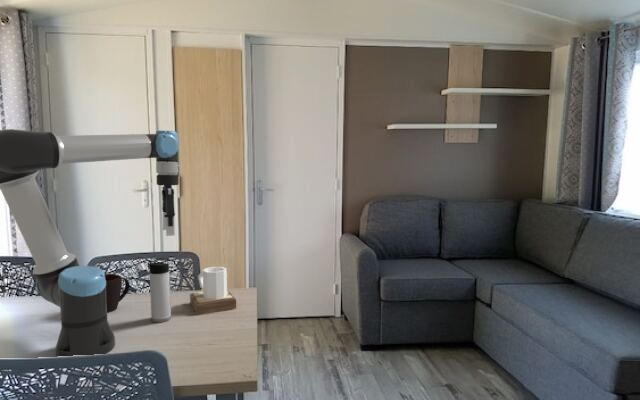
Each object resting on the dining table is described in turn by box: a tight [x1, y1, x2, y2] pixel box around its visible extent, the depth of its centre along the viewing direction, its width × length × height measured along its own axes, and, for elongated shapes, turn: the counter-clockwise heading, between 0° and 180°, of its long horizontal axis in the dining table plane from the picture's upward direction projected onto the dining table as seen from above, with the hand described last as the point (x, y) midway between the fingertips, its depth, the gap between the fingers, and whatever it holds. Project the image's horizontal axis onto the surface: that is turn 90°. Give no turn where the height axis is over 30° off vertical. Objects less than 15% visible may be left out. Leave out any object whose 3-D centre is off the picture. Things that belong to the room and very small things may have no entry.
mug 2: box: [197, 266, 228, 299], centre depth 163 cm, size 12×9×10 cm
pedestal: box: [189, 289, 237, 316], centre depth 163 cm, size 14×14×4 cm
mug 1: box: [104, 273, 130, 314], centre depth 160 cm, size 10×14×12 cm
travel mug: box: [148, 262, 172, 324], centre depth 149 cm, size 6×7×20 cm
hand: (168, 232), depth 159 cm, fingers open, 13 cm apart
